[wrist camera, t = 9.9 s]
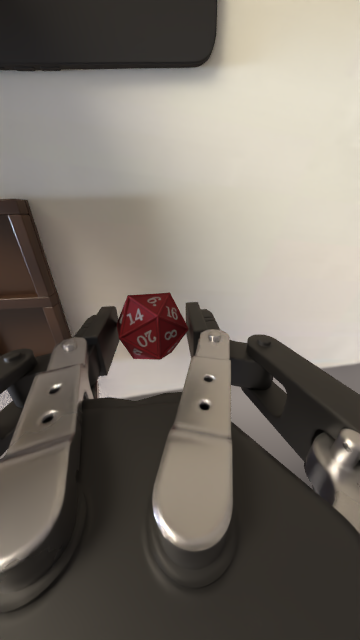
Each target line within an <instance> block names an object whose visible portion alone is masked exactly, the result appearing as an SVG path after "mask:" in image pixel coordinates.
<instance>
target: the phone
mask: <svg viewBox="0 0 360 640" xmlns="http://www.w3.org/2000/svg"><path fill="white" fill-rule="evenodd" d="M216 24H217V0H0V70H17V71H35V70H43V71H60V70H61V69H123V68H189V67H198V66H200V65H202V64H204V63H205V62H206V61H207V60H208V58H209V57H210V55H211V53H212V50H213V47H214V43H215V38H216Z"/></svg>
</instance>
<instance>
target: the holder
mask: <svg viewBox="0 0 360 640" xmlns="http://www.w3.org/2000/svg"><path fill="white" fill-rule="evenodd" d="M69 338H72V337H71V334H70V331H69V328H68V325H67V322H66V319H65V316H64V313H63V310H62V307H61V303H60V300H59V297H58V294H57V291H56V288H55V285H54V282H53V279H52V276H51V273H50V269H49V266H48V263H47V260H46V257H45V254H44V251H43V248H42V245H41V242H40V239H39V235H38V232H37V229H36V226H35V223H34V220H33V217H32V214H31V211H30V208H29V205H28V202H27V200H20V199H0V356H2V355H3V354H5V353H8V352H10V351H13V350H17V349H24V348H26V349H31V350H32V351H33V353H34V356H35V357H37V356H41V355H46V354H50V353H52V351H53V348H54V347H55V345H57V344H58V343H59V342H61V341H63V340H66V339H69Z"/></svg>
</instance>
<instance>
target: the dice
mask: <svg viewBox="0 0 360 640" xmlns="http://www.w3.org/2000/svg"><path fill="white" fill-rule="evenodd" d="M117 330H118V336H119V339H120V340H121V342H122V343H123V345H124V346H125V347H126V349H127V350H128V352H129V353H130V354H131V356H132V357H133V359H159V360H160V359H162V358H163V357H165V356H166V355H168V354H170V353H172V351H173V350H174V348H175V347H176V346H177V344H178V343H179V342H180V340H181V339H182V338H183V336H184V335H185V334H186V332H187V331H188V330H189V328H188V326H187V324H186V323H185V321H184V319H183V317H182V315H181V313H180V311H179V309H178V307H177V305H176V304H175V302H174V300H173V298H172V296H171V294H170V293H159V294H144V295H128V296H127V299H126V302H125V304H124V307H123V309H122V312H121V314H120V317H119V319H118V322H117Z"/></svg>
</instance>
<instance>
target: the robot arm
mask: <svg viewBox="0 0 360 640" xmlns="http://www.w3.org/2000/svg"><path fill="white" fill-rule="evenodd" d="M117 322H118V316H117V310H116V307H115V306H110V307H101V309H100V310H99V312H98V313H97V315H93V316H91V317H90V318H88V319H87V320H86V321H85V323H84V325H82V327H81V329H80V330H79V331H78V332H77V334H76V335H75V336H74V338H69V339H66V340H63V341H61V342H59V343H58V344H57V345H55V347H54V348H53V351H52V353H50V354H46V355H41V356H37V357H35V356H34V353H33V351H32V350H31V349H26V348H24V349H17V350H13V351H10V352H8V353H5V354H3V355H2V356H0V394H1V393H2V392H3V391H5V390H6V389H7V391H8V392H9V394H10V396H11V398H12V399H13V401H12V402H11V403H9V404H8V405H7V406H6V407H5V408H4V409H2V410H1V411H0V456H1V455H2V454H3V453H4V452H5V451H6V450H7V449H8V451H7V453H6V455H5V456H4V457H3V458H2V459H0V640H360V395H359V394H358V393H356V392H355V391H353V390H351V389H350V388H349V387H347V386H346V385H344V384H342V383H341V382H339V381H338V380H336V379H335V378H333V377H332V376H330V375H329V374H327V373H326V372H324V371H323V370H321V369H320V368H318V367H317V366H315V365H314V364H312V363H311V362H309V361H308V360H306V359H305V358H303V357H302V356H300V355H299V354H297V353H296V352H294V351H293V350H291V349H290V348H288V347H287V346H285V345H284V344H282V343H281V342H279V341H278V340H276V339H274V338H272V337H270V336H266V335H253V336H251V337H249V338H248V342H247V343H242V342H235V341H232V340H230V337H229V335H228V334H227V333H226V332H224V331H221V330H220V329H219V327H218V325H217V322H216V321H215V318H214V316H213V314H212V313H211V312H210V311H208V310H207V309H200V307H199V304H198V302H190V303H186V324H187V326H188V328H189V330H188V331H187V332H186V334H187V339H188V344H189V350H190V355H191V362H190V366H189V369H188V373H187V377H186V380H185V384H184V388H183V392H177V393H164V394H160V395H157V396H153V397H149V398H146V399H142V400H139V401H131V400H124V399H117V398H110V397H109V398H99V384H98V377H99V376H104V375H107V374H108V371H109V368H110V366H111V363H112V360H113V357H114V354H115V351H116V348H117V346H118V343H119V340H120V339H119V336H118V330H117ZM273 377H274V378H275V379H277V380H278V381H279V382H280V383H281V384H282V385H283V386H284V387H285V389H286V392H287V394H286V393H285V392H284V391H283V390H282V389H281V388H279V387H278V386H277V385H276V384H275V383H274V382H273V381H272V380H273ZM231 385H234V386H240V387H241V388H242V390H243V392H244V393H245V394H246V395H247V396H248V397H249V399H250V400H251V401H252V402H253V403H254V405H255V406H256V407H257V408H258V409H259V410H260V411H261V413H262V414H263V415H264V416H265V417H266V418H267V419H268V420H269V422H270V423H271V424H272V425H273V426H274V427H275V429H276V430H277V431H278V432H279V433H280V434H281V436H282V437H283V438H284V439H285V440H286V441H287V442H288V444H289V445H290V446H291V447H292V448H293V449H294V450H295V452H296V453H297V454H298V455H299V456H300V457H301V458H302V460H303V461H304V462H305V463H304V468H305V472H306V475H307V477H308V479H309V481H310V482H311V484H312V487H313V489H311V488H310V487H309V486H308V485H307V484H305V483H304V482H303V481H302V480H301V479H299V478H298V477H297V476H296V475H295V474H293V473H292V472H291V471H290V470H289V469H287V468H286V467H285V466H284V465H283V464H281V463H280V462H279V461H278V460H277V459H276V458H274V457H273V456H272V455H271V454H269V453H268V452H267V451H266V450H265V449H264V448H262V447H261V446H260V445H259V444H258V443H256V442H255V441H254V440H253V439H252V438H250V437H249V436H248V435H247V434H246V433H244V432H243V431H242V430H241V429H240V428H238V427H237V426H236V425H235V424H234V423H232V422H231Z"/></svg>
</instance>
